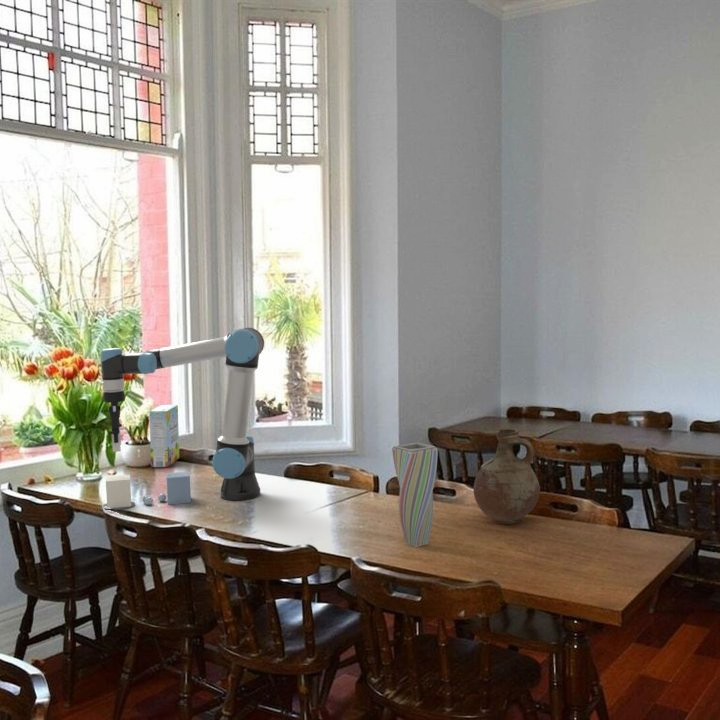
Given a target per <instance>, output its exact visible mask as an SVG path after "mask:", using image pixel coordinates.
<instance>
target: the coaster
mask: <svg viewBox="0 0 720 720" xmlns="http://www.w3.org/2000/svg"><path fill="white" fill-rule="evenodd" d="M104 506H107V503H106V504H104V505H103V507H104ZM135 506H136V503H135V501H132V500H131V506H130V507H119V508H113V509H116V510H115V511H121V510H122V511H123V510H127V509H132V508H133V507H135Z"/></svg>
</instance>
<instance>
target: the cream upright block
mask: <svg viewBox="0 0 720 720" xmlns="http://www.w3.org/2000/svg"><path fill="white" fill-rule="evenodd" d="M105 491H106V504H107V507H110V508H119V507H130V506H131V501H132V491H131V475H130V474H123V475H110V476H106V478H105Z"/></svg>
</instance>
